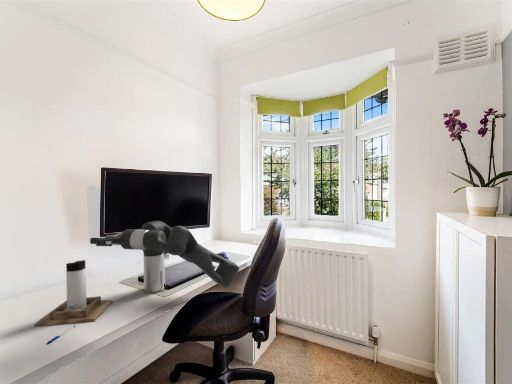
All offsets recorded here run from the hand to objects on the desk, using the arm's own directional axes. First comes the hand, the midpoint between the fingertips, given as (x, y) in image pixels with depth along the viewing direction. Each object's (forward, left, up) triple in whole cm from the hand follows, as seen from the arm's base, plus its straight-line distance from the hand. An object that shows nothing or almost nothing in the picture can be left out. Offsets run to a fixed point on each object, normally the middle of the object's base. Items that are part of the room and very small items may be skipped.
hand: (100, 238), depth 96 cm
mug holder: (+11, -4, -30) cm, 32 cm away
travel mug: (+11, -4, -29) cm, 31 cm away
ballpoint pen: (+8, +12, -31) cm, 34 cm away
